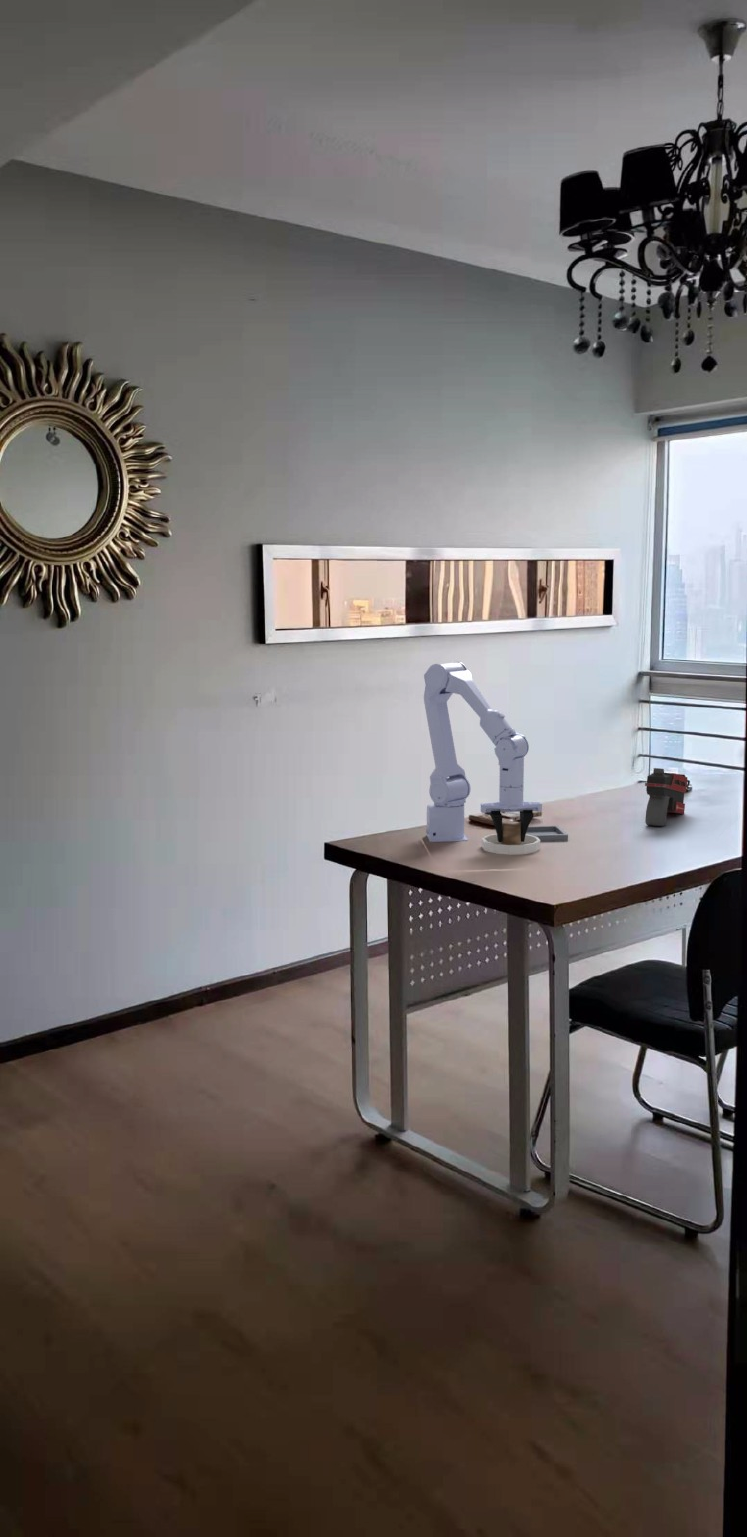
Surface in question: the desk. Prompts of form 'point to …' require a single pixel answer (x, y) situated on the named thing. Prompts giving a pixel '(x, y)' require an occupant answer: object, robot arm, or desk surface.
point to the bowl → (528, 846)
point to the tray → (547, 833)
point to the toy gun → (664, 796)
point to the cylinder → (511, 833)
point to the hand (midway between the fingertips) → (510, 841)
